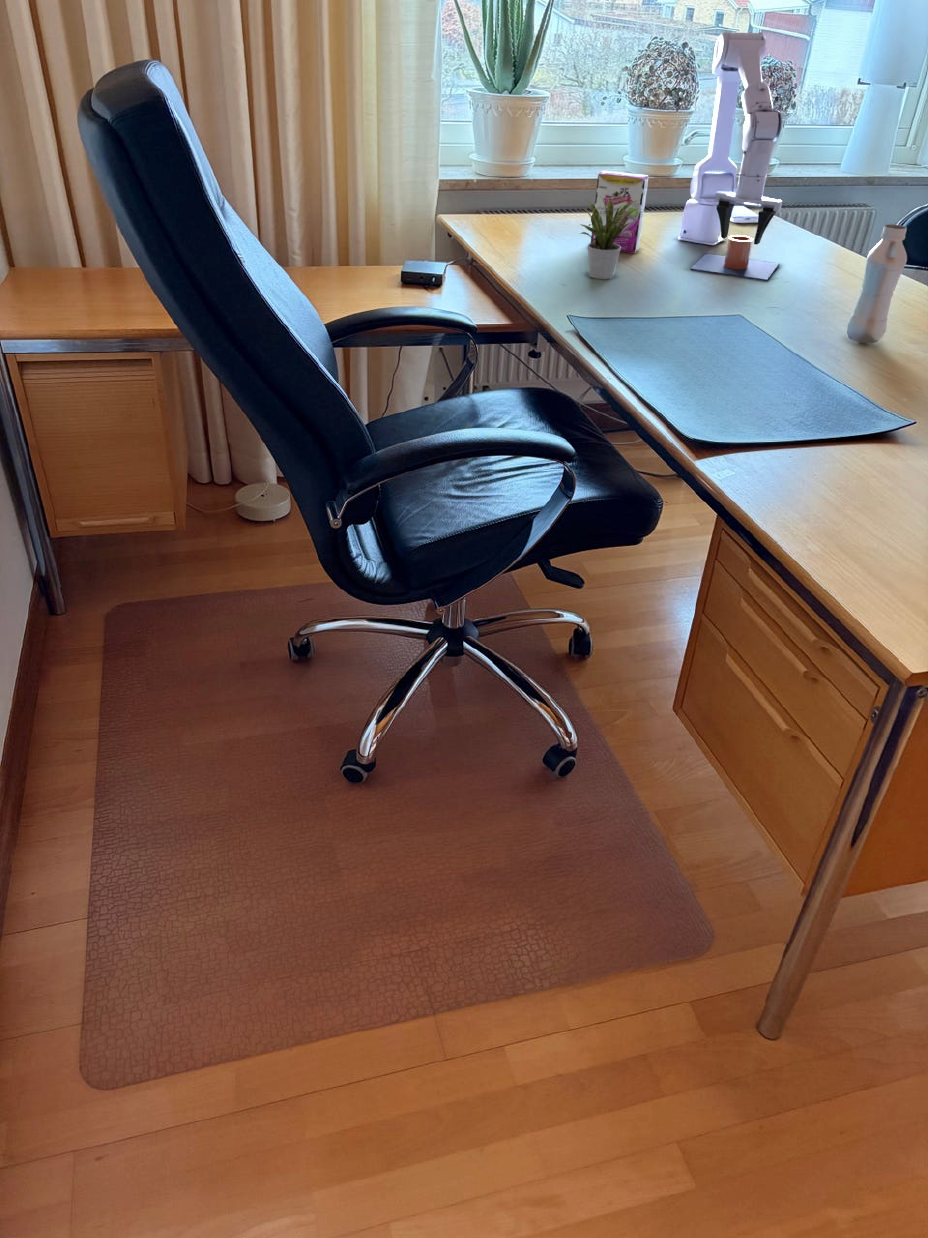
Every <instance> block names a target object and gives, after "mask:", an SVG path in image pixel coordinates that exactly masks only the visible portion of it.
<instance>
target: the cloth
mask: <svg viewBox="0 0 928 1238" xmlns="http://www.w3.org/2000/svg"><path fill="white" fill-rule="evenodd" d="M724 260H725V255H720V254H713V253H705V254H704V255H703V256H702V257H701V258H700V259H699V260H698V261H697V262H695V264H694V265H693V266H692V267H690V271H695V272H703V273H710V274H716V275H724V276H730V277H736V278H743V279H751V280H758V281H765V282H767V281H768V280H769V278H770V277H771V276H772V275H773V273H774V272H775V271H776V270H777V268H778V267H779V266H780V263H777V262H770V261H763V260H757V259H756V260H755V259H749V263H748V267H747V268H746V269H732V268H728V267H725V266H724Z"/></svg>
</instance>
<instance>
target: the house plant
mask: <svg viewBox="0 0 928 1238" xmlns="http://www.w3.org/2000/svg"><path fill="white" fill-rule="evenodd" d="M599 196H600V195H599ZM600 197H601V196H600ZM605 198H606V197H605ZM601 199H602V198H601ZM606 200H607V199H606ZM586 201H587V203H588V204H589V206H590V208H591V210H592V214H590V212H589V211H588V210H586V209H585V208H583V210H585V212H586V213H587V214H588V216H589V217H590V222H591V224H588V225H586V224H581V223H580V224H579V225H580V226H581V227H584V228H585V229H586V230H588V231H589V232H591V234H592V233H593V234H594V235H595V241H594V240H593V241H594V242H593V243H591V242H590V243H588V244H587V255H588V256H587V258H588V273H589V274H588V275H589V277H591V278H592V279H597V280H609V279H612V278H613V277H614V274H615V271H616V267H617V263H618V260H619V257H620V252H621V251H620V249H621V246H620V245H618V244H615V243H614V241H615V240H616V238H626V239H628V238H627V237H625V236H619V235H620V232H621V231H622V230H623V229H624V228H625V227H626V226H627V225H628V224H631V223H627V224H625V225H624V226H622V227H621V225H622V223H623V222H624V221H625V219H626V218H627V217H628V216H629V215H630V214H631V213H632V212H633V211H636V210H639V209H635V210H632V211H630V212H629V213H627V214H626V215H625V217H624V218H623V219H622V221H621V223H620V224H619V225H618V226H616V224H617V222H618V221H619V220H620V219H621V217H622V216H623V215H624V214H622V213H623V212H624V211H625V210H626V208H627V207H628V206H630V205H631V204H632V203H634V202H636V201H632V202H629V203H627V204H626V205H623V207H622V209H621V210H620V211H619V209H620V207H621V206H620V207H619V208H618V209H617V211H616V214H615V216H614V219H613V222H612V217H613V204H612V202H611V200H610V199H608V202H607V206H606V204H605V202H604V200H603V199H602V201H603V202H604V205H605V210H606V228H605V226H603V222H602V218H601V215H600V213H599V212H598V210H597V209H596V207H595V204H593V203H592V202H591V201H590V200H586ZM577 207H579V208H580V206H577ZM607 207H608V210H607ZM618 211H619V212H618ZM595 220H596V221H595ZM596 222H597V224H596ZM590 226H591V227H590ZM592 226H593V228H592ZM620 227H621V228H620ZM598 228H599V229H598ZM623 233H630V234H631V232H630V231H625V232H623ZM580 234H582V235H586V236H588V237H589V238H590V239H591V238H592V237H591V234H589V233H588V232H586V231H583V232H580V233H579V235H580ZM613 234H614V235H613ZM612 236H613V237H612ZM618 236H619V237H618ZM631 236H632V234H631ZM611 238H612V239H611ZM592 239H593V238H592ZM610 240H611V241H610Z"/></svg>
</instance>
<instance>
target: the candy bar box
mask: <svg viewBox="0 0 928 1238" xmlns="http://www.w3.org/2000/svg"><path fill="white" fill-rule="evenodd" d="M649 177H650V176H649V175H647V174H639V173H638V174H637V173H629V172H620V171H612V170H611V171H610V170H609V171H608V170H602V171H600V172H599V173H598V174H597V180H596V181H597V182H596V191H595V200H594V206H595V207H596V209H597V210H598V212H599V213H600V215H601V218H602V222H603V226H605V228H606V210H605V205H604V202H605V204H606V206H607V202H608V199H610V200H611V202H612V204H613V217H612V222H613V219H614V216H615V214H616V211H617V209H618V208H619V207H620V206H621V207H620V209H619V211H620V210H621V209H622V207H623V205H626V204H627V203H629V202H632V201H636V202H634V203H632V204H631V205H630V206H628V207H627V208H626V210H625V211H624V212H623V213H622V214H624V215H623V216H622V217H621V219H620V220H619V221H618V222H617V224H616V226H618V225H619V224H620V223H621V221H622V219H623V218H624V217H625V215H626V214H627V213H629V212H630V211H632V210H635V209H639V210H636V211H633V212H632V213H631V214H630V215H629V216H628V217H627V218H626V219H625V221H624V222H623V223H622V225H621V227H622V226H624V225H625V224H627V223H631V224H628V225H627V226H626V227H625V228H624V229H623V230H622V231H621V232H620V235H619V236H625V237H627V238H628V239H626V238H616V240H615V241H614V243H615V244H618V245H620V246H621V249H620V252H621V253H622V252H623V253H629V254H636V252H637V251H638V250H639V249H640V243H641V234H642V229H643V228H642V227H643V220H644V213H645V205H646V200H647V199H646V198H647V191H648V185H649ZM599 195H600V196H601V197H600V196H599ZM605 197H606V198H605ZM601 198H602V199H603V200H604V202H603V201H602V199H601ZM606 199H607V200H606ZM607 210H608V207H607ZM619 211H618V212H619ZM595 221H596V220H595ZM596 224H597V222H596ZM621 227H620V228H621ZM591 228H593V226H592V225H591ZM598 229H599V228H598ZM625 231H630V232H631V234H632V236H631V234H630V233H623V232H625ZM613 235H614V234H613ZM590 236H591V237H592V238H593V239H592V238H591V237H590V243H593V242H594V241H595V235H594V234H593V233H592V232H591V234H590ZM619 236H618V237H619ZM612 237H613V236H612ZM611 239H612V238H611ZM593 240H594V241H593ZM610 241H611V240H610Z"/></svg>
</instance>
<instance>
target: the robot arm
mask: <svg viewBox="0 0 928 1238" xmlns="http://www.w3.org/2000/svg"><path fill="white" fill-rule="evenodd" d="M766 52H767V37H766V35H765V33H764V32H763V31H762V32H761V31H760V32H729V31H727V30H726V31H725V30H724V31H722V32H721V33H720V35H719V36H718V38H717V40H716V43H715V46H714V53H713V61H712V74H713V75H715V76H716V77H717V86H716V94H715V101H714V109H713V117H712V124H711V132H710V138H709V139H710V141H709V145H708V146H709V147H708V154H707V156H706V157H705V158H704V159H702V160H701V161H700V162H698V163H697V164H696V165H695V166H694V170H693V174H692V178H691V182H690V187H689V188H690V189H689V191H690V196H691V199H689V200H687V201H686V203H685V205H684V208H683V212H682V217H681V225H680V230H679V236H678V237H677V239H678V240H679V241H684V242H690V243H697V244H701V245H702V244H703V245H710V246H716V245H717V244H719V243H721V242H723V241H725V240H726V238H728V235H729V230H730V223H731V221H730V219H731V215H732V211H733V208H734V206H744V207H749V208H750V207H751V208H757V209H761V210H759V211H758V213H757V215H758V222H757V224H756V225H757V226H756V230H755V231H756V232H755V235H754V238H753V245H755V246H756V245H759V244H761V241H762V238H763V235H764V233H765V231H766V229H767V228H768V225H769V224H770V223H771V221H772V219H773V218H774V216H776V213H777V212H780V211H781V210H782V206H783V199H782V200H781V199H776V198H772V197H768V196H765V195H764V191H765V186H766V180H767V175H768V170H769V166H770V161H771V156H772V151H773V147H774V143H776V142H777V141H778V139H779V137H780V135H781V131H782V127H783V117H782V112H781V111H780V110H778V108H777V107H774V104H773V101H772V100H773V99H772V95H771V90H770V86H769V84H767V83H766V82H763V74H762V73H763V72H762V62H763V60H764V58H765V55H766ZM741 81H742V84H743V88H744V90H743V91H742V93H741V103H742V108H743V113H744V116H745V121H744V124H743V129H742V137H743V138H742V145H741V146H742V147H741V148H742V150H743V152H742V153H743V154H742V158H741V164H740V168H739V173H738V167H737V165H736V164H735V163H734V162H733V161H732V160H731V159H730V152H731V144H732V137H733V131H734V130H733V129H734V123H735V117H736V109H737V103H738V96H739V88H740V83H741ZM711 171H712V172H711ZM713 171H714V172H713ZM717 171H718V172H717ZM719 171H720V172H719ZM722 171H723V172H722ZM738 174H739V175H738ZM737 176H738V177H737ZM763 195H764V196H763Z"/></svg>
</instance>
